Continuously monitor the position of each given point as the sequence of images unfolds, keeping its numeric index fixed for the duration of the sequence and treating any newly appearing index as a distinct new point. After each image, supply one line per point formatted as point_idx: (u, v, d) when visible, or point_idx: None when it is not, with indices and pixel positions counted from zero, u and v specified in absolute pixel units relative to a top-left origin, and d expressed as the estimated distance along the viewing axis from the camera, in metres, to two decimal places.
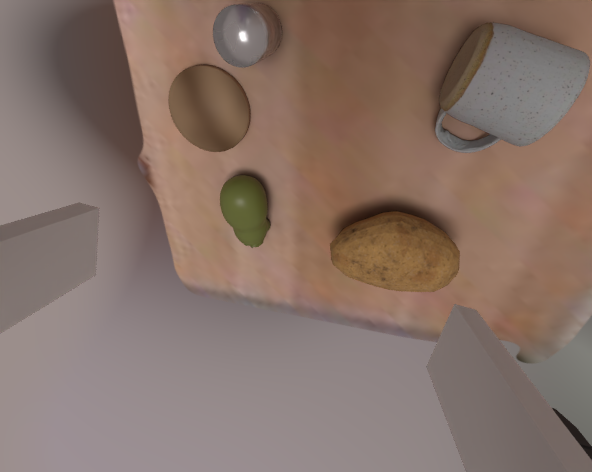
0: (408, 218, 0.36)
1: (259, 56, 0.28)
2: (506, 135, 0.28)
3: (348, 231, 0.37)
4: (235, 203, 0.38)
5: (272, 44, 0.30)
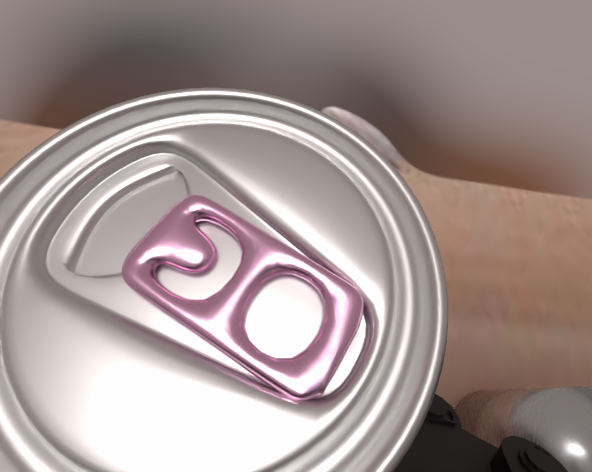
0: None
1: None
2: None
3: None
4: None
5: None
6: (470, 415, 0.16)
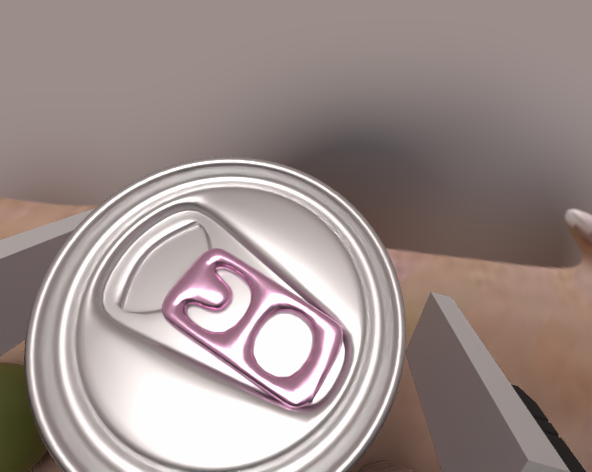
0: None
1: None
2: None
3: None
4: None
5: None
6: None
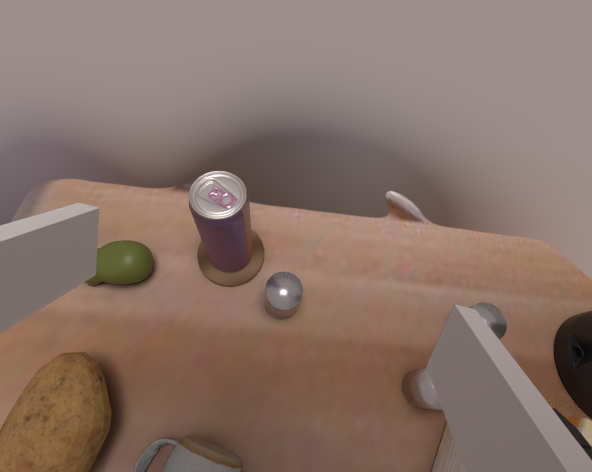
0: (103, 441, 0.34)
1: (271, 302, 0.39)
2: None
3: (100, 372, 0.35)
4: (129, 254, 0.41)
5: (275, 311, 0.41)
6: None
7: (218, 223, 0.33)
